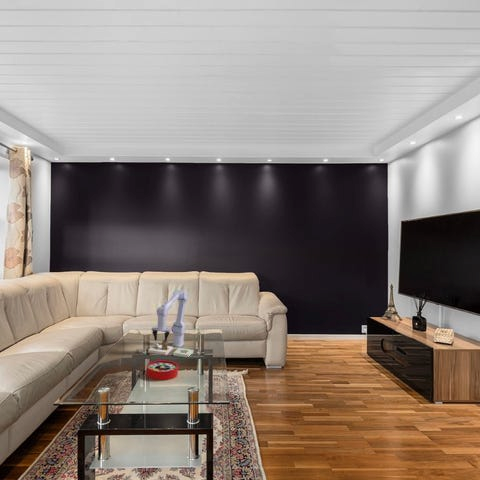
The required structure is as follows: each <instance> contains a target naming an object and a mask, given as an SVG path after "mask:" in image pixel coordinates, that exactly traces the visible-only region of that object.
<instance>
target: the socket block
mask: <svg viewBox="0 0 480 480" xmlns="http://www.w3.org/2000/svg"><path fill="white" fill-rule="evenodd" d="M173 349H174V346H171V345H167V350H162V344H159V345H158V348H154V345H153V346H151V347H150V348H149V349H148V351H147V353H149V354H154V355H155V354H156V355H162V354H163V355H164V356H167V355H168V354H169V353H170V352H171V351H173Z"/></svg>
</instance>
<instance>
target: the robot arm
mask: <svg viewBox="0 0 480 480" xmlns="http://www.w3.org/2000/svg"><path fill="white" fill-rule="evenodd" d="M188 298H189V293H188V291H187V290H181V289H175V290H173V294H172V296H171V297H170V299H169V300H165V302H164V303H163V304H162V305H161V306H159V307H158V308H157V309H156V314H157V315H156V316H157V327H151V331H152V332H151V333H152V335H153V339H154V342H156V341H157V340H158V333H159V332H161V333H164V340H165V342H166V341H168V340H167V339H168V338H169V336H170V334H171V332H172V334H173V338H172V339H173V341H172V344H171V345H170V346H171V347H177V348H181V347H182V346H184V345H185V342H184V339H185V338H184V337H185V336H184V334H185V333H186V324H185V323H184V316H185V310H186V304H187V301H188ZM177 300H178V308H177V314H176V321H175V322H173V323H172V327H171V329H170V328H169V329H168V328H166V322H167V321H166V320H167V319H166V318H167V315H168V313H169V311H170V309H171V308H172V307H173V304H174V303H175V302H176V301H177Z"/></svg>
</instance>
